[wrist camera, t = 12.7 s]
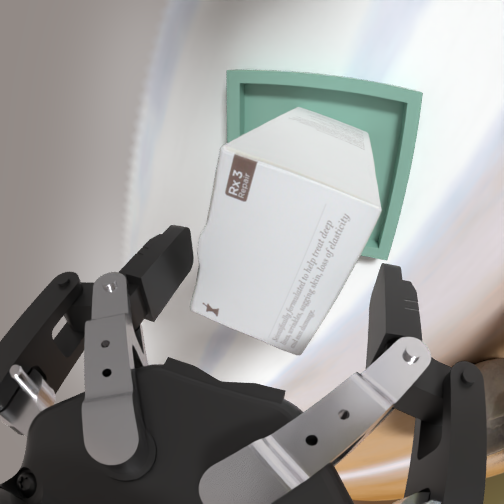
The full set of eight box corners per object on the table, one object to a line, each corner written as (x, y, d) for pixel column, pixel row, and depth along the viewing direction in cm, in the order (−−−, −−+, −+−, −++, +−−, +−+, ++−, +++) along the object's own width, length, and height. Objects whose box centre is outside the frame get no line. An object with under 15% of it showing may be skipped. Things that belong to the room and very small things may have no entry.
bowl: (514, 398, 32) (521, 450, 24) (419, 416, 39) (417, 471, 32) (546, 329, 24) (567, 392, 16) (426, 353, 32) (430, 426, 24)
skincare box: (333, 218, 25) (303, 365, 14) (266, 192, 26) (184, 318, 14) (370, 126, 20) (395, 217, 9) (293, 98, 21) (210, 148, 9)
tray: (235, 69, 22) (226, 70, 20) (417, 90, 18) (422, 92, 17) (237, 221, 30) (229, 232, 28) (385, 247, 26) (387, 260, 25)
